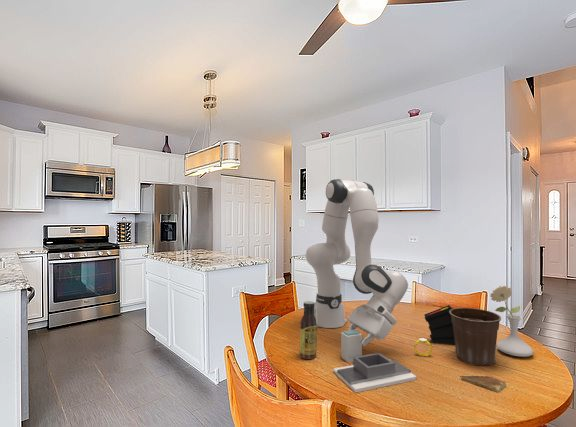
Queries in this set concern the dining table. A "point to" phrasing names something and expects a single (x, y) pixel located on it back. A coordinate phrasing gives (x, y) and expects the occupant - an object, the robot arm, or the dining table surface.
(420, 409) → the dining table surface
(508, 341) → the flower in vase
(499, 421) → the dining table surface
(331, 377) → the dining table surface
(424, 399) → the dining table surface
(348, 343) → the module block
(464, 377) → the shard
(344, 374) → the rail holder
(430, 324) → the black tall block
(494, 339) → the plant pot
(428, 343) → the watch
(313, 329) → the sauce bottle
